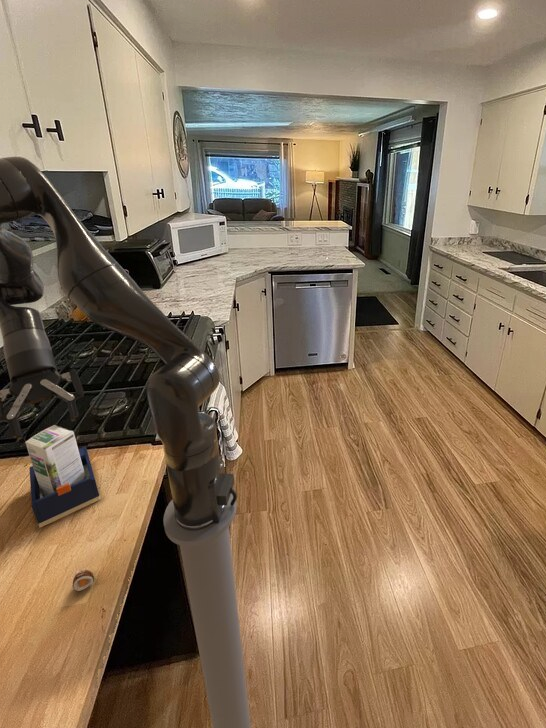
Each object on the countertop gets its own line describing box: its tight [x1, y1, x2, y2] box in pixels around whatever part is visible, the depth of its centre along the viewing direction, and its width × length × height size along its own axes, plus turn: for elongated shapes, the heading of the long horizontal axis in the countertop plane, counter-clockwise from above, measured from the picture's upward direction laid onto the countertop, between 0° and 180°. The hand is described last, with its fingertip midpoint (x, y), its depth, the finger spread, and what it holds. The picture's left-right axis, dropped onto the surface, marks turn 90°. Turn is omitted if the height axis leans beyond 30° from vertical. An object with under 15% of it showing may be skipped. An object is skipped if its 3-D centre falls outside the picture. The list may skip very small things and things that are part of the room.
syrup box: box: [24, 424, 86, 497], centre depth 71 cm, size 6×6×14 cm
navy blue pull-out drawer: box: [28, 445, 101, 529], centre depth 73 cm, size 12×10×7 cm
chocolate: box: [71, 568, 96, 592], centre depth 57 cm, size 3×2×4 cm
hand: (47, 429), depth 70 cm, fingers open, 8 cm apart
